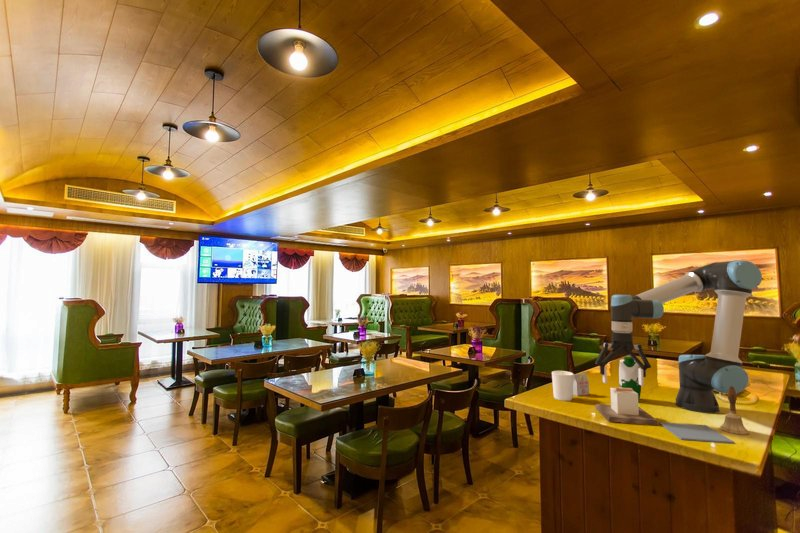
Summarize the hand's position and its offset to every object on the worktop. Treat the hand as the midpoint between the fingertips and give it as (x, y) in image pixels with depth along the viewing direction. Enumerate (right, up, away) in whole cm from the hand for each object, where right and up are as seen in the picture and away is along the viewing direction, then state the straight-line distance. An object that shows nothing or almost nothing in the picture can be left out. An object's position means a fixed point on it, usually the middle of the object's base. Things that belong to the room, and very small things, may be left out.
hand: (622, 384), depth 154 cm
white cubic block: (0, -11, -1) cm, 11 cm away
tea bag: (-2, -15, +31) cm, 35 cm away
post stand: (0, -13, -1) cm, 13 cm away
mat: (+15, -12, -18) cm, 27 cm away
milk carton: (+17, -15, +23) cm, 33 cm away
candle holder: (-14, -15, +25) cm, 32 cm away
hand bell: (+32, -13, -15) cm, 38 cm away
